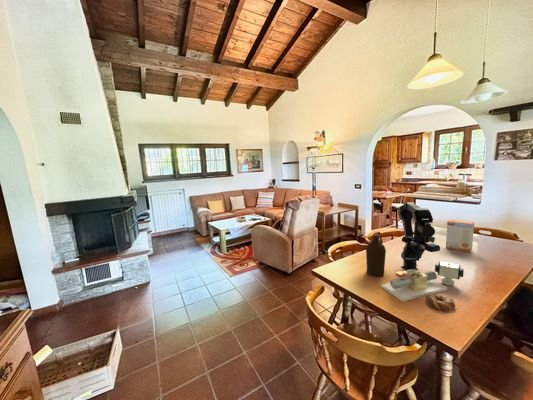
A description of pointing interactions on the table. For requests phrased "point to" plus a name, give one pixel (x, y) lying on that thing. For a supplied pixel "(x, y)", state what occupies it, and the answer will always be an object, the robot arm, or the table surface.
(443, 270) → the pneumatic valve
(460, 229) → the cracker box
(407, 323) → the table surface
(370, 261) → the olive oil
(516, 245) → the table surface
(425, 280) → the valve body
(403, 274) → the valve lever
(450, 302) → the pretzel
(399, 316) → the table surface
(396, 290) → the mount board
